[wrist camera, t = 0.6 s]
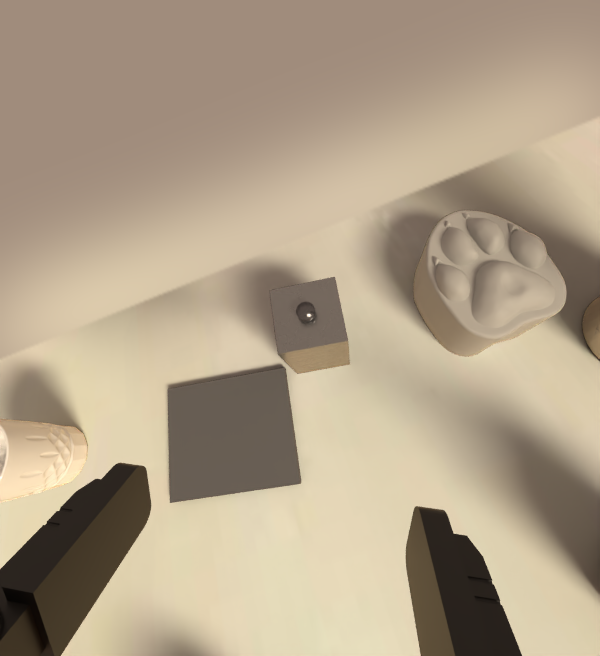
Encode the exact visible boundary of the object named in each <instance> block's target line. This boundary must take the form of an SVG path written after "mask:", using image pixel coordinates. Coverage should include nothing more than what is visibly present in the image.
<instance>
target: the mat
mask: <svg viewBox="0 0 600 656" xmlns="http://www.w3.org/2000/svg"><path fill="white" fill-rule="evenodd" d="M168 428H169V478H170V503H172V502H179V501H186V500H193V499H199V498H206V497H213V496H220V495H227V494H234V493H240V492H247V491H254V490H261V489H268V488H275V487H282V486H288V485H295V484H300V483H301V476H300V469H299V462H298V454H297V447H296V440H295V433H294V426H293V419H292V411H291V404H290V397H289V390H288V383H287V375H286V369H285V368H279V369H274V370H268V371H263V372H257V373H252V374H247V375H241V376H236V377H230V378H225V379H219V380H214V381H209V382H203V383H198V384H192V385H187V386H181V387H176V388H171V389H168Z"/></svg>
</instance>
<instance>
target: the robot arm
mask: <svg viewBox="0 0 600 656" xmlns="http://www.w3.org/2000/svg"><path fill="white" fill-rule="evenodd" d="M582 327H583V334H584V337H585V340H586V342H587V344H588V346H589V347H590V349H591V350H592V352H593V353H594V354H595V355H596V356H597V357H598V358H599V359H600V297H598V298H597V299H595V300H594V301H593V302H592V303H591V304H590V305H589V306H588V308H587V309H586V311H585V314H584V316H583V323H582ZM150 510H151V499H150V492H149V485H148V478H147V471H146V468H145V467H144V466H139V465H132V464H125V463H118V464H116V465H115V466H113V467H112V468H111V470H110V471H109V472H108V473H107V474H106V475H105V476H104V477H103V478H102V479H95V480H93V481H92V482H90V483H89V484H87V485H86V486H84V487H83V488H81V489H79V490H78V491H76V492H75V493H74V494H73V495H72V496H71V497H70V499H69V500H68V501H67V502H66V503H65V504H64V505H63V506H62V507H61V508H60V511H57V512H56V513H55V514H54V515H53V516H52V517H51V518H50V519H49V520H48V521H47V524H46V525H43V526H42V527H41V528H40V529H39V530H38V531H37V532H36V533H35V534H34V535H33V536H32V537H31V538H30V539H29V540H28V541H27V543H26V544H25V545H24V546H23V547H22V548H21V549H20V550H19V551H18V552H17V553H16V554H15V555H14V556H13V557H12V558H11V559H10V560H9V561H8V562H7V563H6V564H5V565H4V566H3V567H2V568H1V569H0V656H61V654H62V653H63V651H64V650H65V648H66V647H67V645H68V644H69V642H70V640H71V639H72V637H73V636H74V634H75V633H76V631H77V630H78V628H79V627H80V625H81V623H82V622H83V620H84V619H85V617H86V616H87V614H88V613H89V611H90V610H91V608H92V607H93V605H94V603H95V602H96V600H97V599H98V597H99V596H100V594H101V593H102V591H103V590H104V588H105V587H106V585H107V583H108V582H109V580H110V579H111V577H112V576H113V574H114V573H115V571H116V570H117V568H118V567H119V565H120V563H121V562H122V560H123V559H124V557H125V556H126V554H127V553H128V551H129V550H130V548H131V547H132V545H133V543H134V542H135V540H136V539H137V537H138V536H139V534H140V533H141V531H142V530H143V528H144V526H145V525H146V523H147V520H148V518H149V515H150ZM406 568H407V575H408V581H409V587H410V593H411V599H412V605H413V611H414V617H415V623H416V629H417V635H418V641H419V647H420V653H421V656H522V654H521V652H520V649H519V647H518V644H517V642H516V639H515V637H514V634H513V632H512V629H511V627H510V624H509V622H508V619H507V616H506V614H505V611H504V609H503V606H502V605H501V604H500V599H499V596H498V594H497V591H496V589H495V586H494V585H493V584H492V579H491V576H490V574H489V571H488V569H487V566H486V563H485V561H484V558H483V556H482V555H481V554H480V552H479V551H478V550H477V548H476V547H475V546H474V545H473V543H472V542H471V541H470V539H469V538H468V537H467V536H465V535H458V534H453V531H452V528H451V525H450V522H449V519H448V516H447V514H446V512H445V511H444V510H439V509H432V508H425V507H418V506H416V507H415V508H414V512H413V516H412V521H411V526H410V530H409V535H408V540H407V545H406Z"/></svg>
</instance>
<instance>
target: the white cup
mask: <svg viewBox="0 0 600 656" xmlns="http://www.w3.org/2000/svg"><path fill="white" fill-rule="evenodd" d="M87 447H88V445H87V442H86V439H85V437H84V434H83V433H82V432H81V431H79V430H78V429H77V428H76V427H72V426H63V425H54V424H51V423H42V422H32V421H22V420H8V419H0V503H1V502H5V501H10V500H14V499H17V498H20V497H24V496H28V495H31V494H36V493H39V492H43V491H45V490H48V489H52V488H56V487H59V486H62V485H65V484H67V483H70V482H71V481H72V480H73V479H74V478H75V477H76V476H77V475H78V474H79V473H80V472H81V470H82V468H83V465H84V463H85V461H86V459H87Z"/></svg>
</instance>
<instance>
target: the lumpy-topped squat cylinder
mask: <svg viewBox="0 0 600 656" xmlns="http://www.w3.org/2000/svg"><path fill="white" fill-rule="evenodd" d="M566 293H567V291H566V285H565V281H564V279H563V277H562V275H561V273H560V272H559V270H558V269H557V267H556V266H555V264H554V263H553V261H552V259H551V258H550V257H549V255H548V254H547V251H546V247H545V245H544V243H543V241H542V240H541V239H540V238H539V237H538V236H537V235H535V234H533V233H530V232H527V231H526V230H525V229H523V228H522V227H520V226H518V225H516V224H514V223H512V222H510V221H508V220H506V219H504V218H501V217H499V216H497V215H494V214H491V213H486V212H481V211H472V210H462V211H456V212H453V213H451V214H449V215H447V216H445V217H444V218H442V219H441V220H440V221H439V222H438V223H437V224H436V225H435V227H434V228H433V230H432V232H431V234H430V236H429V238H428V240H427V243H426V245H425V248H424V251H423V253H422V256H421V259H420V261H419V264H418V266H417V269H416V272H415V276H414V286H413V296H414V301H415V304H416V306H417V308H418V310H419V312H420V314H421V316H422V318H423V320H424V321H425V323H426V325H427V326H428V328H429V329H430V331H431V332H432V333H433V335H434V336H435V338H436V339H437V340H438V342H439V343H440V344H441V345H442V346H443V347H444V348H445V349H447V350H448V351H450V352H452V353H454V354H456V355H459V356H465V357H469V356H474V355H476V354H478V353H480V352H482V351H483V350H485V349H487V348H488V347H490V346H491V345H493V344H496V343H499V342H502V341H506V340H510V339H513V338H515V337H517V336H519V335H521V334H523V333H524V332H526V331H528V330H530V329H531V328H533V327H535V326H536V325H538V324H540V323H542V322H544V321H545V320H547V319H549V318H550V317H552V316H554V315H556V314H557V313H558V312H559V311H560V310H561V309H562V308H563V306H564V304H565V301H566Z"/></svg>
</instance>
